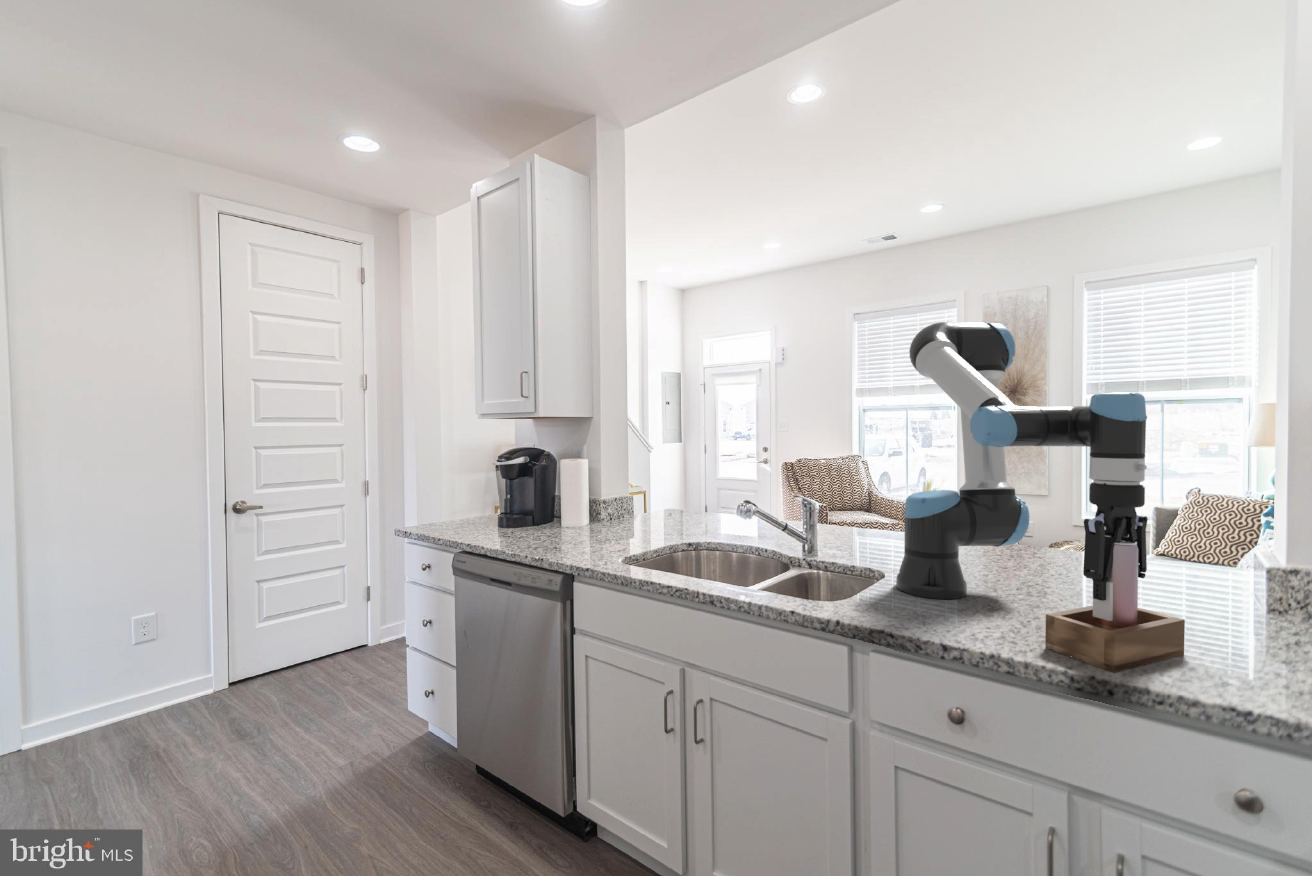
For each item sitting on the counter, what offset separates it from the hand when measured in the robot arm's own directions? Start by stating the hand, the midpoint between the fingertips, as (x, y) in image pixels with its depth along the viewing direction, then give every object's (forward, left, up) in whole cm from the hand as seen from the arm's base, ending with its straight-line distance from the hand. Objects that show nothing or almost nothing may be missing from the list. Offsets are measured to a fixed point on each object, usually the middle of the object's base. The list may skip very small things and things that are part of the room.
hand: (1114, 615), depth 102 cm
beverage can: (0, 0, -2) cm, 2 cm away
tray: (0, 0, -6) cm, 6 cm away
